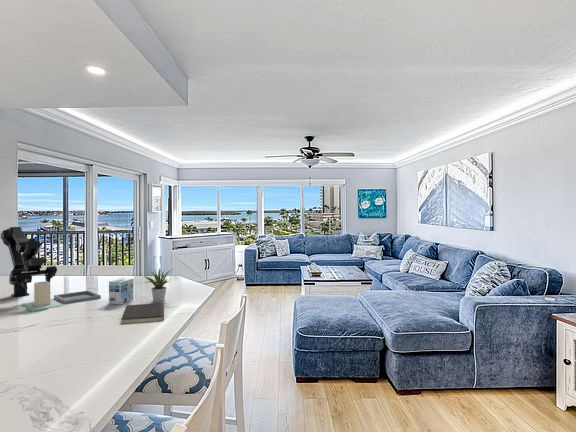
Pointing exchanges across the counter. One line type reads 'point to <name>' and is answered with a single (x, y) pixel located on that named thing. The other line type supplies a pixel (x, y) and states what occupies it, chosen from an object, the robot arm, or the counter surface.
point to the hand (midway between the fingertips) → (38, 287)
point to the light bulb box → (121, 290)
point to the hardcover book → (143, 313)
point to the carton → (42, 293)
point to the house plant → (158, 286)
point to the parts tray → (77, 297)
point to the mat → (38, 308)
